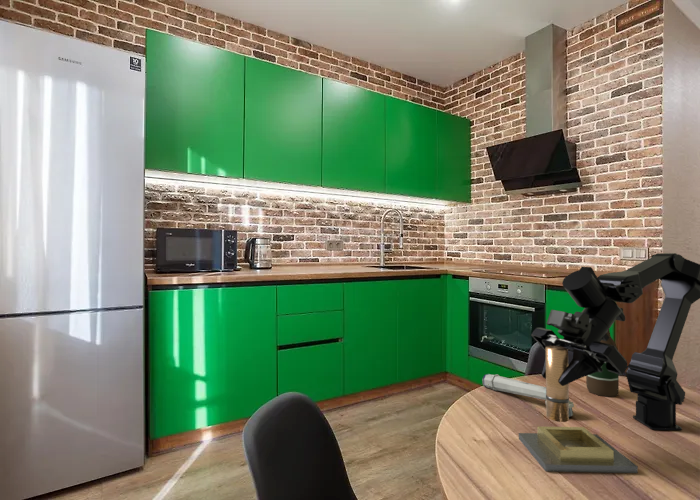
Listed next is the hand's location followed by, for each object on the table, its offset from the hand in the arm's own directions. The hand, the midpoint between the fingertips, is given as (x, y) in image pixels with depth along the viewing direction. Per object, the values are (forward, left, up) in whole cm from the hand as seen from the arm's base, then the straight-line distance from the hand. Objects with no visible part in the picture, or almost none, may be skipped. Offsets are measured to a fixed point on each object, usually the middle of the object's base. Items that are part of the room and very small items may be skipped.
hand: (551, 380), depth 77 cm
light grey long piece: (-5, -25, -14) cm, 29 cm away
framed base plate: (-3, +2, -13) cm, 14 cm away
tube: (-1, 0, -8) cm, 8 cm away
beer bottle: (-29, -32, -14) cm, 45 cm away
